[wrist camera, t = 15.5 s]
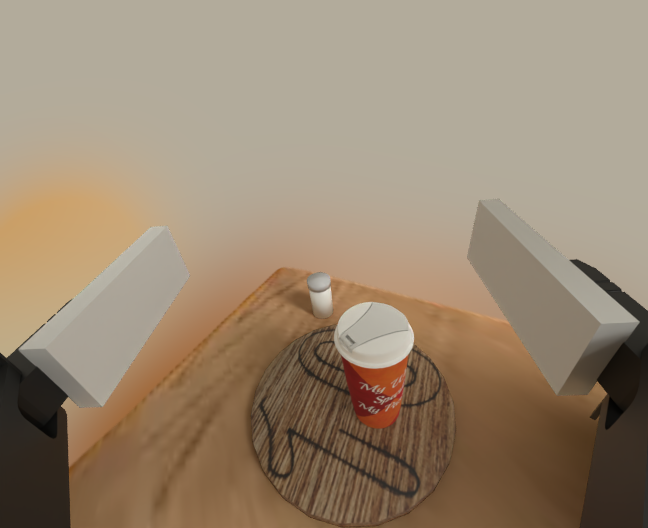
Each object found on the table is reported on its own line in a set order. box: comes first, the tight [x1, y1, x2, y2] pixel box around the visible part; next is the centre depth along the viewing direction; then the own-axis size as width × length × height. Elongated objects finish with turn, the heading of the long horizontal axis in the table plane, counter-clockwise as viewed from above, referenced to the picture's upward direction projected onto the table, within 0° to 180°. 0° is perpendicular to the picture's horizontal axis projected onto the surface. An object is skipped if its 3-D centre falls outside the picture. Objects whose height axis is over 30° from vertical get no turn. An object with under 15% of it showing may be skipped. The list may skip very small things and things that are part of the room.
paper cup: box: [334, 302, 414, 429], centre depth 32 cm, size 8×8×14 cm
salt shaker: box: [307, 272, 333, 319], centre depth 50 cm, size 4×4×7 cm
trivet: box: [251, 325, 456, 527], centre depth 38 cm, size 25×25×2 cm
